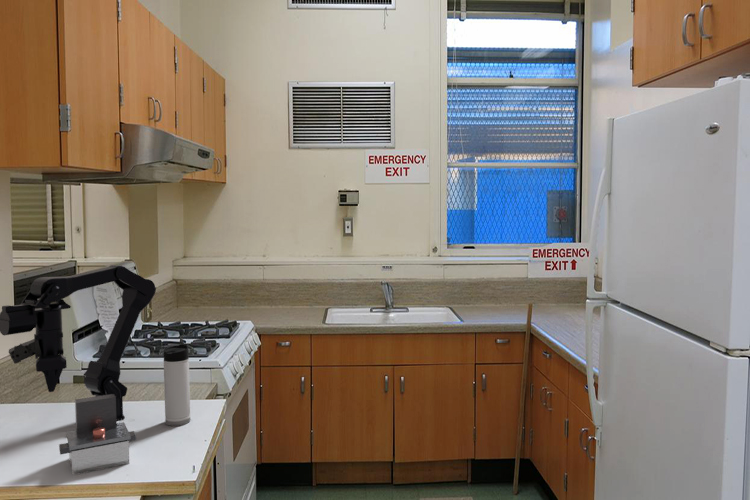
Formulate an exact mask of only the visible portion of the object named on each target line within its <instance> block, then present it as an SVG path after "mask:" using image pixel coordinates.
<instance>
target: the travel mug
mask: <svg viewBox="0 0 750 500" xmlns="http://www.w3.org/2000/svg"><path fill="white" fill-rule="evenodd" d="M163 383H164V385H163V387H164V388H163V390H164V422H165V424H166V426H167V425H168V426H171V427H172V426H173V427H176V426H184V425H186V424H188V423H189V422H190V421H191V392H190V391H191V390H190V388H191V387H190V359H189V346H188V345H187V344H186V343H185V344H184V343H179V344H177V345H171V346H168V347H166V348H164V349H163Z"/></svg>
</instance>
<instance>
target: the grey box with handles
mask: <svg viewBox="0 0 750 500" xmlns="http://www.w3.org/2000/svg"><path fill="white" fill-rule="evenodd" d="M129 433H130V435H131V439H129V440H124V441H118V442H113V443H107V444H102V445H97V446H91V447H86V448H81V449H75V450H70V451H69V445H68V442H64V443H60V444H58V446H59V454H60V455H64V454H68V455H69V456H68V457H69V458H68V459H69V463H70V468H71V474H72V476H75V475H80V474H84V473H85V474H86V473H90V472H93V471H94V472H95V471H99V470H104V469H105V470H106V469H109V468H113V467H119V466H123V465H128V464H130V443H129V442H133V441H137V434H136V433H135V431H134V430H133V431H132V430H131V431H129Z"/></svg>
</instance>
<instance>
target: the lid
mask: <svg viewBox="0 0 750 500" xmlns="http://www.w3.org/2000/svg"><path fill="white" fill-rule="evenodd" d="M74 409H75V430H71V431H66V439H67V443H68V445H69V451H70V450H75V449H81V448H86V447H91V446H97V445H102V444H107V443H113V442H118V441H124V440H129V439H131V435H130V433H129V432H130V431H129V430H128V427H127V426H126V424H125V422H118V423H117V421H118V420H116V397H115V395H114V394H109V395H103V396H96V397H95V396H90V397H82V398H78V399H77V398H75V399H74Z"/></svg>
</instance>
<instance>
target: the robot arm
mask: <svg viewBox="0 0 750 500" xmlns="http://www.w3.org/2000/svg"><path fill="white" fill-rule="evenodd" d="M108 283H109V284H110V283H114V284H115V285H116V286H117V287H118V288H120V289H121V290H122V294H121V302H122V303H121V304H122V306H121V310H120V312H119V314H118V317H117V319H116V321H115V323H114V326H113V328H112V331H111V333H110V336H109V338H108V340H107V342H106V345H105V347H104V349H103V351H102V354H101V355H100V357H99V358H98V359H96V361H95V360H89V363H88V364H87V365H88V366H87V369H86V370H85V372H84V373H83V376H84V378H83V379H84V380H83V384H84V386H85V388H87V390H89V391H90V394H91V396H94V397H96V396H103V395H109V394H114V395H115V397H116V420H117V421H119V420H124V419H125V418H126V417H125V415H124V406H123V405H124V403H123V400H124V399H123V397H126V396H127V391H128V387H127V386H126V385H124V384H123V383H121V382H120V381H119V380H120V377H121V364H120V363H121V360H122V357H123V355H124V353H125V350H126V347H127V345H128V343H129V341H130V338H131V335H132V333H133V331H134V328H135V326H136V323H137V320H138V318H139V317H140V314H141V312H142V311H143V310H144V309H145V308H146V307H147V306H148V305H149V304H150V303H151V301H152V300H153V298H154V296H155V294H156V293H157V287H156V285H155V283H154V282H153V281H152V280H151V279H148V278H144V277H143V276H141V275H139V274H137V273H135V272H133V271H131V270H130V269H128V268H127V267H125V266H124V265H118V264H112V265H110V266H107V267H103V268H98V269H94V270H89V271H85V272H81V273H77V274H73V275H72V274H71V275H65V276H44V277H42V276H41V277H38V278H36V279H34V280H33V282H32V283H31V285H30V288H29V289H30V290H29V291H28V292H27V294H26V296H25V297H24V298H23V300H22V301H21V302H20V304H16V305H15V304H13V305H9V304H8V305H1V312H0V334H1V335H2V336H3V337H4V336H9V335H17V334H23V333H24V334H25V333H30V332H32V331H33V330H34V329H35V333H34V335H33V339H31V340H27V341H25V342H22V343H19V344H18V345H14V346H13V347H11V348H9V349H8V355H9V356H10V358H11V360H12V362H13V363H14V365H15V364H18V363H19V364H20V363H21V362H22V361H23V360H26V359H28V358H30V357H34V359H35V371H36V372H37V373H38V372H39V373H40V372H42V373H43V376H44V379H45V380H44V381H45V383H46V387H47V390H48V392H49V393H53V392H54V391H55V389H56V387H57V385H58V383H59V379H60V377H61V374H62V373H63V370H64V369H67V357H65V356H64V354H65V353H64V345H63V344H64V343H63V342H64V340H63V338H64V332H63V318H62V317H63V315H62V312H63V311H62V310H68V309H69V310H70V309H71V307H72V306H71V305H70V304H69V303H67V301H65V300H64V299H66V298H67V297H69V296H71V295H73V294H74V293H76V292H77V291H78V292H79V291H82V290H85V289H90V288H93V287H96V286H97V287H98V286H101V285H104V284H108Z"/></svg>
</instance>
